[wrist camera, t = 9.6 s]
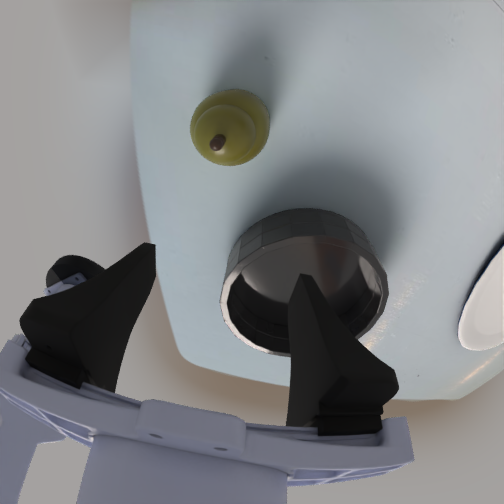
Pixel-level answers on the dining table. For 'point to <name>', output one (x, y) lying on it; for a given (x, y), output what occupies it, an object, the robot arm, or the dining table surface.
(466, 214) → the dining table surface
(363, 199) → the dining table surface
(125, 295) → the robot arm
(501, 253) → the plate
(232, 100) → the pear
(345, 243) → the pan
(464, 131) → the dining table surface
